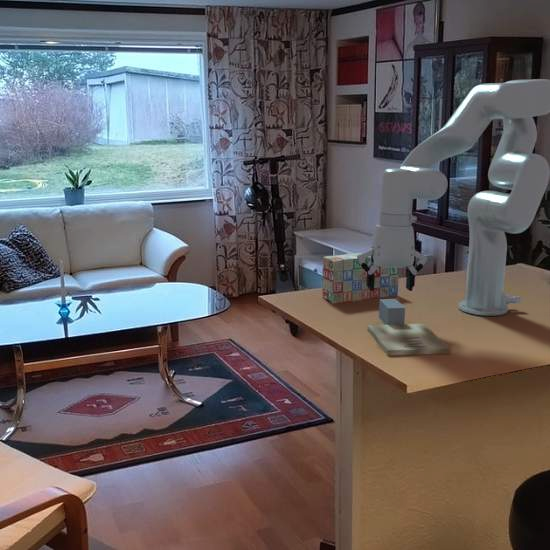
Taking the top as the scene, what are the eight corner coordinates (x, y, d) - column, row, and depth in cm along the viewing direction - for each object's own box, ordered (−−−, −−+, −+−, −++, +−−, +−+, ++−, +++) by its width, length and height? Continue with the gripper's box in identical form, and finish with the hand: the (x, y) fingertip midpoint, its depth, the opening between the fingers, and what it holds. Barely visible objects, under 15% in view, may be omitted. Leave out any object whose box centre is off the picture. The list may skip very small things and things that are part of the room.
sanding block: (394, 319, 180) (395, 298, 178) (404, 329, 172) (405, 307, 171) (378, 320, 179) (379, 299, 178) (387, 330, 172) (388, 308, 170)
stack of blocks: (386, 290, 208) (387, 249, 205) (398, 295, 202) (400, 253, 199) (321, 298, 199) (322, 255, 196) (332, 304, 194) (333, 260, 191)
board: (423, 328, 173) (423, 323, 172) (449, 353, 155) (450, 348, 155) (367, 330, 171) (367, 325, 171) (387, 355, 154) (387, 350, 153)
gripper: (424, 218, 174) (419, 286, 178) (356, 217, 172) (352, 285, 176) (435, 223, 167) (428, 293, 171) (363, 222, 165) (359, 293, 168)
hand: (389, 289), depth 173 cm, fingers open, 9 cm apart
